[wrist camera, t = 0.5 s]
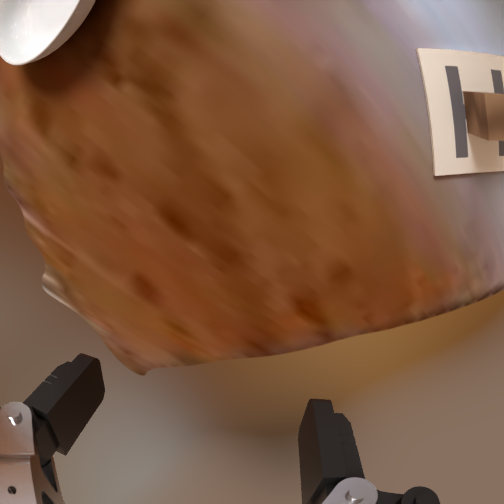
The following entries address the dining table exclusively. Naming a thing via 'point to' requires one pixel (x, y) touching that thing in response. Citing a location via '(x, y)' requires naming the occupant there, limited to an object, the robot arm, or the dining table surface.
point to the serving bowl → (38, 27)
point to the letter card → (459, 108)
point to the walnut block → (485, 115)
